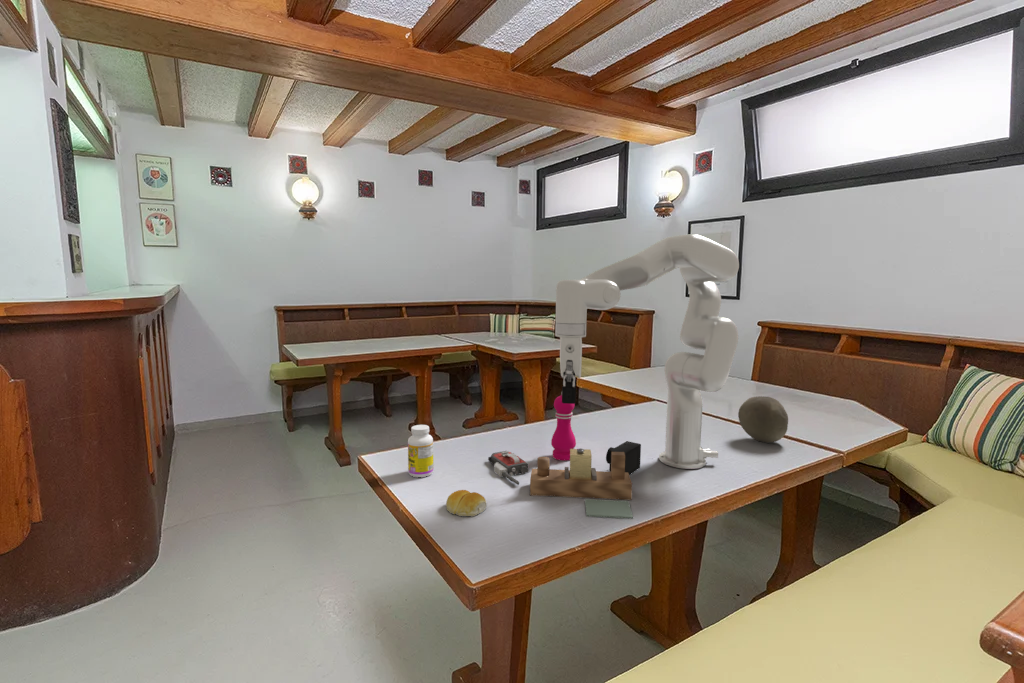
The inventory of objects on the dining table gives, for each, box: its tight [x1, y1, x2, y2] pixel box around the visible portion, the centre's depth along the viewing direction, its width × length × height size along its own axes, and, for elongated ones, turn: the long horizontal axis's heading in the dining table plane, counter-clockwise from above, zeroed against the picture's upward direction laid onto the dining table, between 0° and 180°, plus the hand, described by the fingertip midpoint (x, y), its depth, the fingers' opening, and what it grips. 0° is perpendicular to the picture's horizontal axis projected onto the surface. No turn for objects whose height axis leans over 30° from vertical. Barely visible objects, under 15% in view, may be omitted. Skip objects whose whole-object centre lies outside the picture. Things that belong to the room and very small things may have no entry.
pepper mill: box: [550, 391, 577, 461], centre depth 143 cm, size 7×7×20 cm
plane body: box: [529, 452, 633, 501], centre depth 120 cm, size 24×7×10 cm, turn 84°
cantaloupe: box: [737, 395, 789, 444], centre depth 158 cm, size 14×14×15 cm
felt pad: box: [584, 498, 634, 520], centre depth 111 cm, size 10×8×1 cm
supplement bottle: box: [407, 424, 434, 478], centre depth 131 cm, size 7×7×13 cm
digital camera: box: [605, 440, 642, 476], centre depth 134 cm, size 10×5×7 cm, turn 142°
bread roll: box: [445, 489, 488, 517], centre depth 111 cm, size 8×9×4 cm
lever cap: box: [569, 448, 593, 480], centre depth 119 cm, size 5×4×7 cm
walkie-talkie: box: [487, 450, 529, 486], centre depth 133 cm, size 9×4×20 cm
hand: (569, 398), depth 122 cm, fingers open, 9 cm apart
